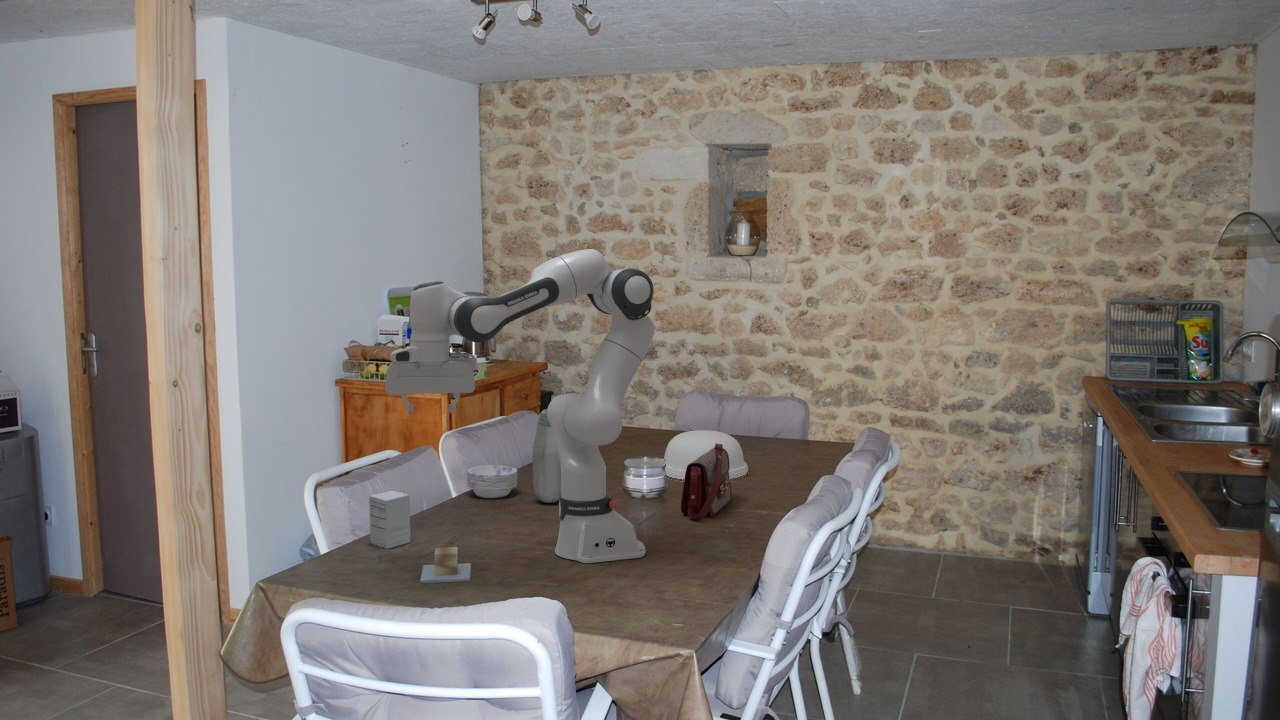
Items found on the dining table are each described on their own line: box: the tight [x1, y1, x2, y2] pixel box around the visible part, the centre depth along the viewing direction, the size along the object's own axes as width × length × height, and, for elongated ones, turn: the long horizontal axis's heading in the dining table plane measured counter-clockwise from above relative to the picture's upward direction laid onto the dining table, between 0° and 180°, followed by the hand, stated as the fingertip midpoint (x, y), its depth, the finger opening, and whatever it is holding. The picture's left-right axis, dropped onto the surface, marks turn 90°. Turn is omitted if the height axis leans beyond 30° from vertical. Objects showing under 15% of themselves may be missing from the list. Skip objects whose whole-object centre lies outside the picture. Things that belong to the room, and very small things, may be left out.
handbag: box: [680, 444, 732, 521], centre depth 285 cm, size 28×11×17 cm, turn 160°
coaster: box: [419, 562, 472, 584], centre depth 228 cm, size 11×11×1 cm
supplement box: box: [368, 490, 411, 550], centre depth 251 cm, size 7×7×13 cm
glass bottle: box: [532, 408, 561, 504], centre depth 292 cm, size 10×10×28 cm
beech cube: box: [434, 546, 459, 576], centre depth 227 cm, size 5×5×5 cm
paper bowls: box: [466, 464, 518, 499], centre depth 301 cm, size 15×15×8 cm
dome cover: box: [663, 429, 749, 480], centre depth 332 cm, size 32×30×14 cm
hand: (431, 412), depth 227 cm, fingers open, 8 cm apart
